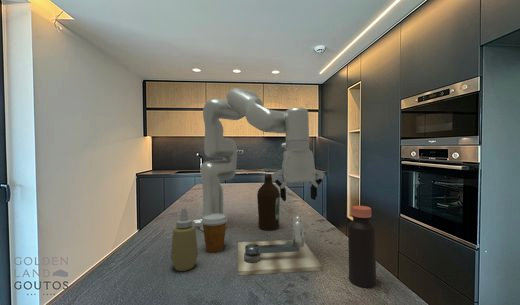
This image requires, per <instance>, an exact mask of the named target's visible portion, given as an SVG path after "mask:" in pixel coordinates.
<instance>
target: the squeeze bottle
mask: <svg viewBox="0 0 520 305" xmlns="http://www.w3.org/2000/svg"><path fill="white" fill-rule="evenodd" d="M175 225H176V227H175V228H174V229H173V230H172V240H171V249H170V250H171V252H170V259H171V262H172V265H173V268H174V270H176V271H179V272H184V271H189V270H191V269H193V268H194V267H195V265H196V263H197V259H198V255H199V252H198V243H197V232H196V226H193V220H192V219H191V218H189V216H188V211H187V208H182V209H181V212H180V217H179V219H178V220H176V224H175Z"/></svg>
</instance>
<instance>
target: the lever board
mask: <svg viewBox="0 0 520 305" xmlns="http://www.w3.org/2000/svg"><path fill="white" fill-rule="evenodd" d="M248 244H257V245H278V244H293V239H284V240H280V239H279V240H262V241H241V242H239V241H238V242H237V276H247V275H249V276H250V275H251V276H252V275H268V274H283V273H300V272H301V273H302V272H316V271H317V272H320V271H323V270H324V269H323V265H322V264H321V262H320V261H319V259H318V258H317V257H316V256H315V254H314V253H313V251H312V250H311V249H310V247H309V246H308V244H307V243H306V242H305V241H304V246H303V247H299V251H298V252H279V253H259V254H258V255H255V256H248V255H246V254H245V246H246V245H248Z"/></svg>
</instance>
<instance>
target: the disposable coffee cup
mask: <svg viewBox="0 0 520 305" xmlns="http://www.w3.org/2000/svg"><path fill="white" fill-rule="evenodd" d="M227 217H228V216H227V214H226V213H224V214H221V213H213V214H207V215H204V216H203V215H202V218H201V219H202V220H201V222H202V224H203V230H204V231H203V235H204V243H205V250H206V252H209V253H218V252H221V251H223V250H224V245H225V238H226V229H227V227H226V224H227V222H228V219H229V218H227Z"/></svg>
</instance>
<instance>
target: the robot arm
mask: <svg viewBox="0 0 520 305" xmlns="http://www.w3.org/2000/svg"><path fill="white" fill-rule="evenodd" d="M202 116H203V117H202V119H203V122H204V144H203V145H204V146H203V148H204V154H205V156H206V157H207V158H210V159H211V158H214V159H216V158H220V159H221V158H222V159H221V160H220V159H216V160H207V161H205V162H203V163H202V164H200V168H199V171H200V178H201V183H202V184H201V186H202V217H203V216H204V215H207V214H213V213H221V214H225V212H224V189H223V186H222V184H221V182H220V181H224V180H232V179H233V178H234V177H235V176H236V172H237V159H238V147H237V144H236V141H235V140H234V139H232V138H229V137H224V127H223V125H222V122H221V120H220V119H222V120H227V121H229V120H231V121H238V120H240V119H243V118H245V119H246V121H247V123H248V124H249V125H251V126H253V127H254V128H255V129H257V130H259V131H261V132H263V133H264V132H265V133H272V134H273V133H274V134H284V135H285V142H283V143H281V144H280V146H281V148H283V149H284V150H285V151H283V154H282V164H281V169H279V170H277V171H275V172H273V173H272V175H271V176H272V181H274V183H275V184H276V185H277V186H278V187H279V193H280V199H281V200H282V201H283V202H286V201H287V189H286V186H287V184H288V183H291V184H292V183H295V184H296V183H310V185H311V186H310V199H312V200H313V201H316V199H317V197H318V187H319V185H320V184H321V183H322V182H323V179H324V177H325V172H322V171H321V170H319V169H317V168H316V166H315V160H314V159H315V158H314V153H313V151H312V150H310V122H309V119H310V118H309V110H308V109H306V108H304V107H292V108H288V109H287V110H285V111H281V110H275V109H274V110H273V109H269V108H266V107H264V103H263V101H262V100H261V98H260V97H259V95H258V94H257V93H256V92H255V91H253V90H249V89H243V88H238V87H236V88H231V89H230V90H228V91H227V93H226V96H225V99H222V98H211V99H209V100H207V101H206V102H205V103H204V106H203V111H202ZM280 175H281V179H282V180H281V181H280V180H279V179H278V177H279V176H280ZM316 175H318V176H317V179H316ZM201 220H202V218H200V219H198V218H196V219H193V224H195V225H199V230H200V231H203V232H204V230H203V224H202V222H201ZM226 228H228V224H227V223H226Z"/></svg>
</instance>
